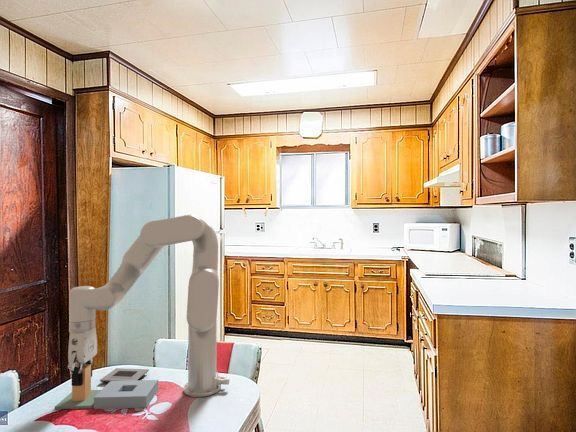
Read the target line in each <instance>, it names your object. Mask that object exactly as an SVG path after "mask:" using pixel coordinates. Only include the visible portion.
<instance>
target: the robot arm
mask: <svg viewBox="0 0 576 432" xmlns="http://www.w3.org/2000/svg"><path fill="white" fill-rule="evenodd" d="M139 232H140V233H139V235H138V236H137V238H136V239H135V241H133V243H132V244H131V245H130V246H129V248H128V249H127V251H126V252H125V253H124V255H123V256H122V260H121V263H120V265H119V267H118V268H117V270H116V272H115V273H114V274H113V275H112V277H110V279H109V280H108V281H107V282H106V284H104V285H102V286H100V287H96V288H95V287H94V286H91V285H82V286H74V287H73V288H71V289H69V290H70V291H69V295H68V296H69V297H68V298H69V299H68V300H69V301H68V311H69V312H68V315H69V316H68V318H69V320H68V321H69V322H68V332H69V339H68V349H67V350H68V351H67V352H68V353H67V355H68V356H67V359H68V364H67V369H68V370H69V371H70V374H71V387H72V386H81V385H83V372H81V371H82V365H83V364H85V363H86V364H91V378H92V377H93V364H94V357H95V356H96V355H98V335H97V328H96V318H97V317H96V316H97V315H96V314H97V313H96V311H109V310H111V309H113V308H115V306H117V304H119V303H120V302H121V301H122V300H123V299H124V298H125V296H126V295H127V294H128V293H129V291H130V290H131V288H132V287H133V286H134V285H135V283H136V282H137V281H138V280H139V278H140V277H141V276H142V275H143V274H144V273H145V271H146V270H147V269H148V268H149V266H150V265H151V263H152V262H153V261H154V259H155V258H156V257H157V255H158V254H159V253H160V252H161V250H162V249H163V248H164V247H165V246H171V245H177V244H181V243H187V242H192V245H193V254H192V268H191V269H192V271H191V274H190V276H189V279H188V286H187V305H186V306H187V307H186V321H187V326H188V330H187V331H188V333H187V335H188V336H187V337H188V341H187V342H188V344H187V351H188V353H187V354H188V355H187V357H188V358H187V369H188V370H187V372H188V374H187V375H188V376H187V383H186V384H184V385H183V393H184V394H185V395H187V396H189V397H193V398H202V397H208V396H211V395H214V394H216V393H218V392H219V391H220V390H221V388H222V385H226V386H227V385H228V386H229V385H230V377H229V378H228V377H227V376H225V375H224V376H223V375H222V376H220V375H219V372H218V371H217V341H218V340H217V339H218V337H217V335H218V333H217V318H218V303H219V291H220V290H219V286H220V281H219V279H220V278H219V275H218V271H219V269H218V266H219V241H218V237H217V234H216V231H215V230H214V228H213V227H212V225H211V224H210V223H208V222H207V221H206V220H205V219H203V218H202V217H200V216H198V215H195V214H187V215H180V216H175V217H169V218H164V219H157V220H151V221H148V222H146V223H144V225H143V226H142V227H141V230H140V231H139ZM77 365H79V369H78V367H76V366H77Z"/></svg>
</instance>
